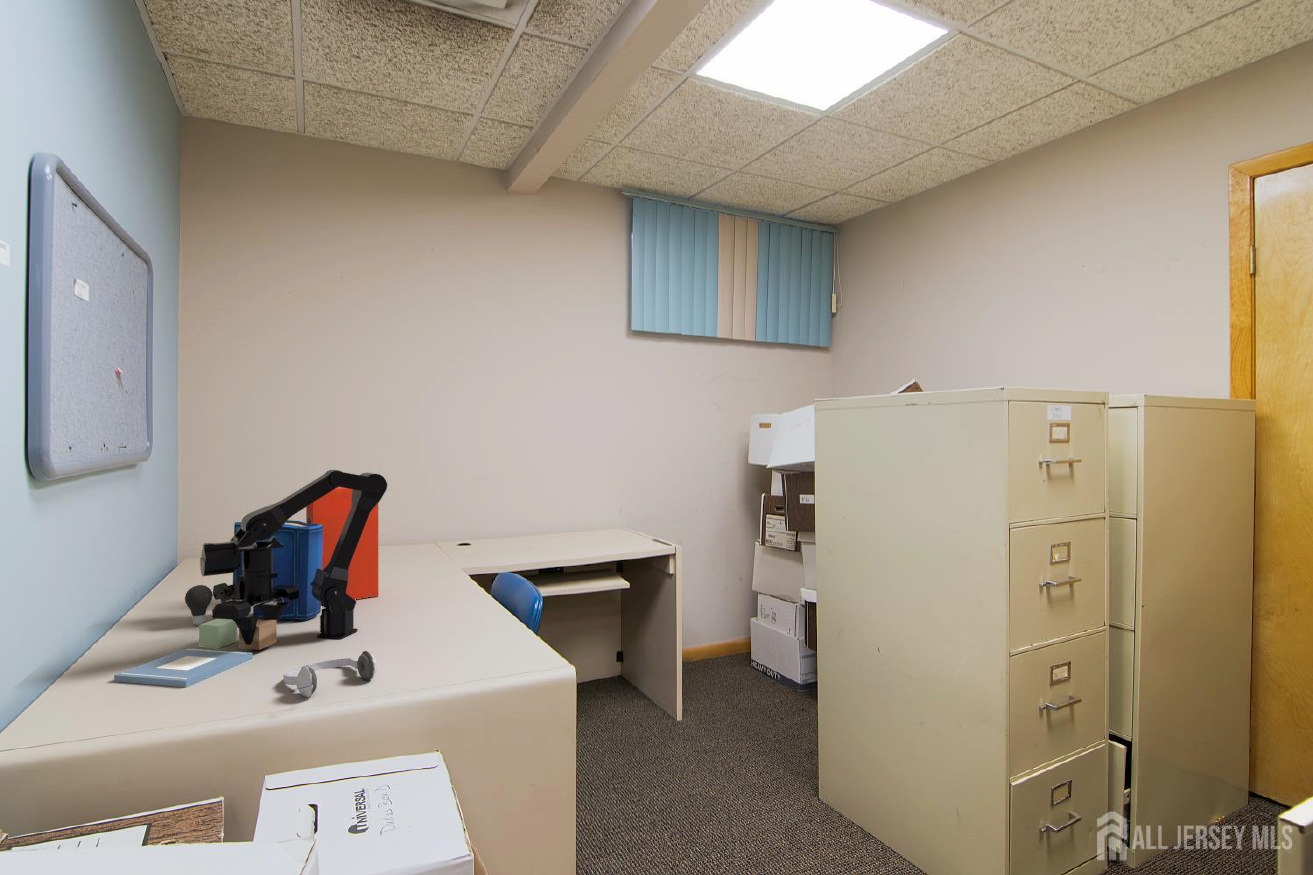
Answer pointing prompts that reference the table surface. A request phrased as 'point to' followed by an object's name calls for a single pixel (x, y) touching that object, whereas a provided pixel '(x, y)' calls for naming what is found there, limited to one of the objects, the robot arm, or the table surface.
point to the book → (294, 566)
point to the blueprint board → (183, 667)
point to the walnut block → (261, 635)
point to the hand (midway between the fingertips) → (257, 640)
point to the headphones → (307, 677)
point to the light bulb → (198, 602)
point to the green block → (217, 633)
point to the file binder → (332, 518)
